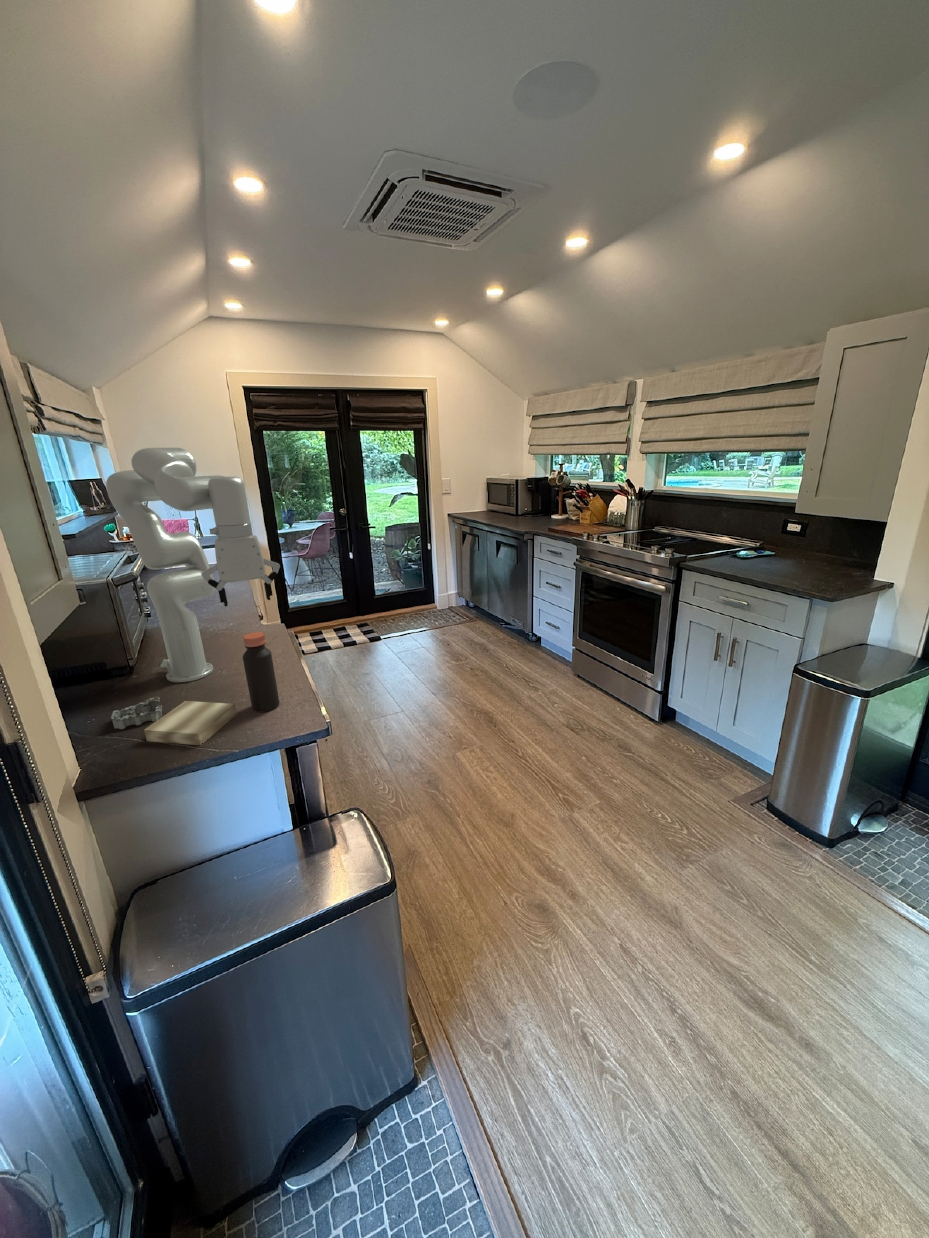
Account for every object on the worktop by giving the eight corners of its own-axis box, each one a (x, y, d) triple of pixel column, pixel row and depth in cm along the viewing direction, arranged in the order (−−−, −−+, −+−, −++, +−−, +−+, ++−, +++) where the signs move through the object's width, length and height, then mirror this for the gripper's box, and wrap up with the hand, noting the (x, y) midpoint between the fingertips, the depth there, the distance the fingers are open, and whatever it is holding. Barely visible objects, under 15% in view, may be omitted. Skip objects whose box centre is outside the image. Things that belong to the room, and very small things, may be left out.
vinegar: (264, 715, 125) (251, 642, 118) (246, 709, 128) (232, 637, 121) (285, 703, 130) (273, 633, 124) (267, 698, 133) (255, 629, 127)
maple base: (146, 741, 115) (143, 729, 114) (187, 711, 128) (185, 700, 127) (200, 745, 112) (198, 733, 111) (236, 714, 125) (234, 703, 124)
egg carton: (164, 708, 130) (161, 694, 129) (162, 721, 124) (159, 707, 122) (116, 718, 125) (112, 704, 124) (111, 732, 119) (107, 717, 118)
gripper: (192, 537, 108) (208, 611, 113) (275, 530, 115) (286, 600, 120) (193, 533, 114) (208, 603, 120) (272, 526, 121) (282, 593, 127)
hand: (247, 601), depth 120 cm, fingers open, 9 cm apart
